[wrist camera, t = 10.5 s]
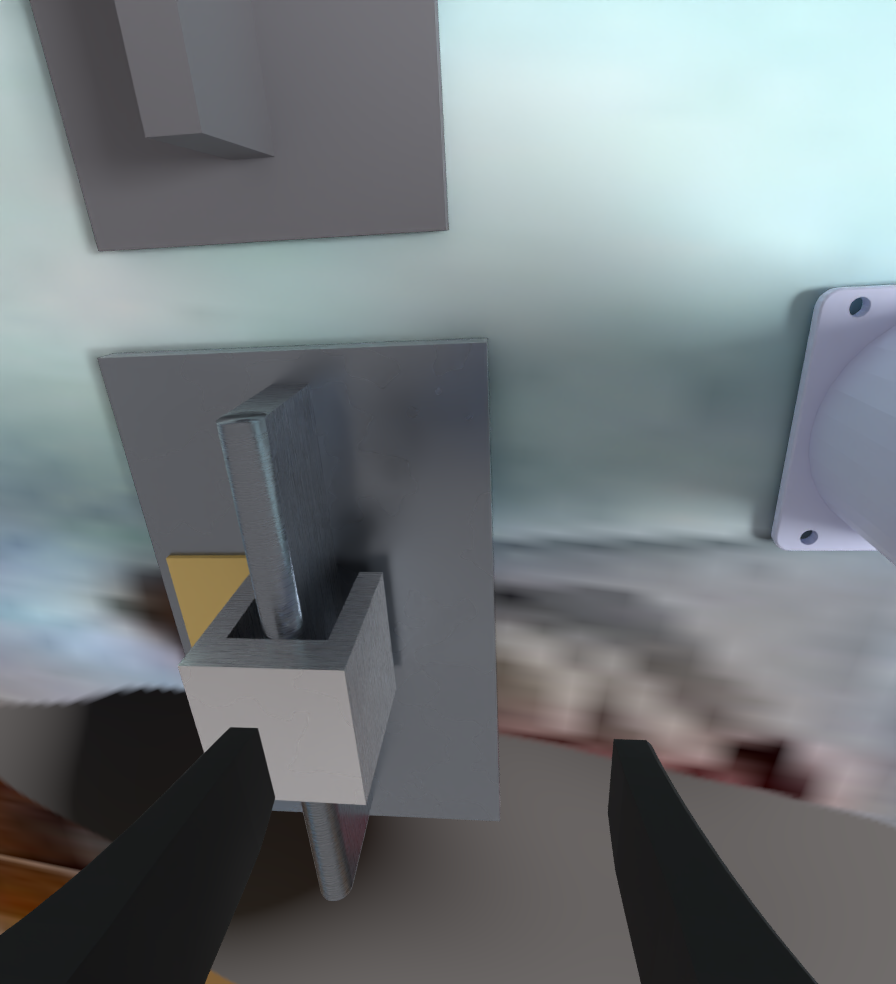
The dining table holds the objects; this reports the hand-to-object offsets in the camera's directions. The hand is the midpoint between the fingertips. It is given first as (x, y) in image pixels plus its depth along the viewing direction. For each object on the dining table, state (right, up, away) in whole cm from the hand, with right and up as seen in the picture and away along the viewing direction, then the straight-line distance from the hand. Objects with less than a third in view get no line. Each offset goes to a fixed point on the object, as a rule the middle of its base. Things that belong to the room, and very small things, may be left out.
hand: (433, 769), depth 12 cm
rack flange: (-4, +1, +10) cm, 11 cm away
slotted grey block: (-4, +1, +9) cm, 10 cm away
